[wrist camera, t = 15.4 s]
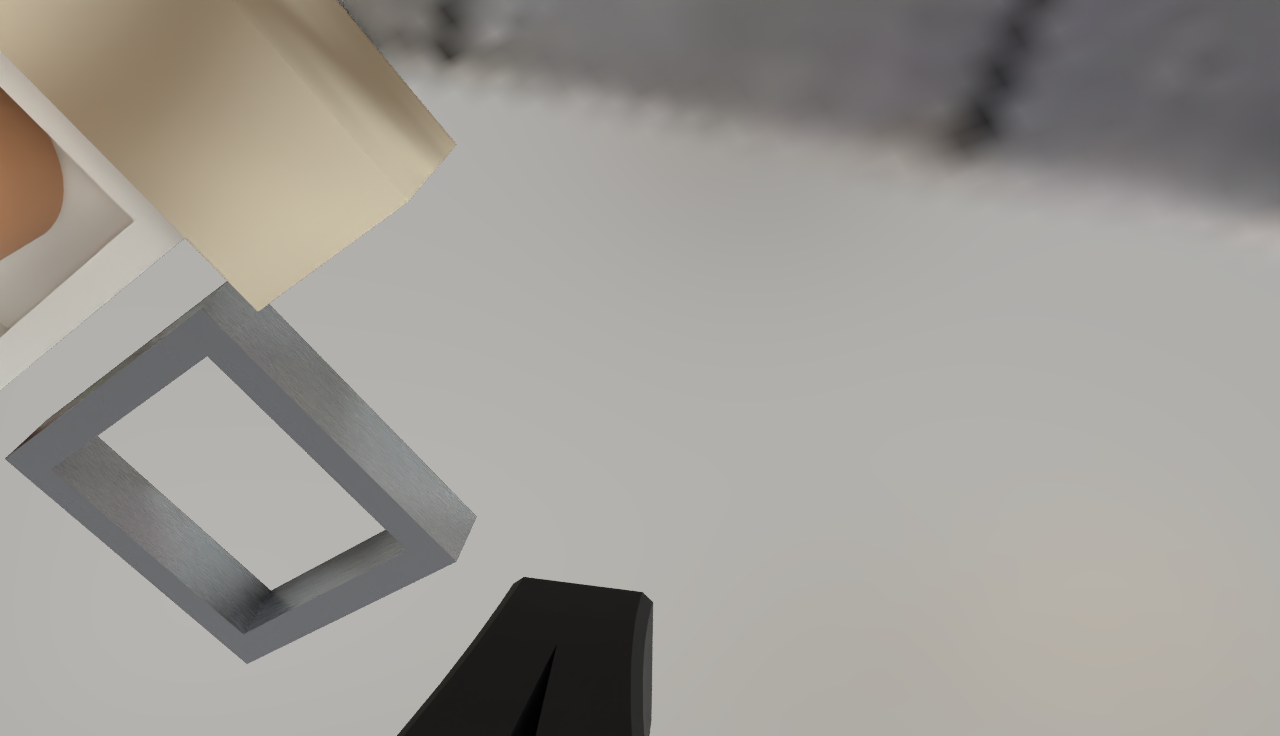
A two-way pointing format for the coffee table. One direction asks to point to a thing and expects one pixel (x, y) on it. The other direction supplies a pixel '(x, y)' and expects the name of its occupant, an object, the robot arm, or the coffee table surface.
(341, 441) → the socket
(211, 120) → the cream rectangular block
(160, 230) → the tray
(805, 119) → the coffee table surface
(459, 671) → the robot arm
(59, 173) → the dowel
